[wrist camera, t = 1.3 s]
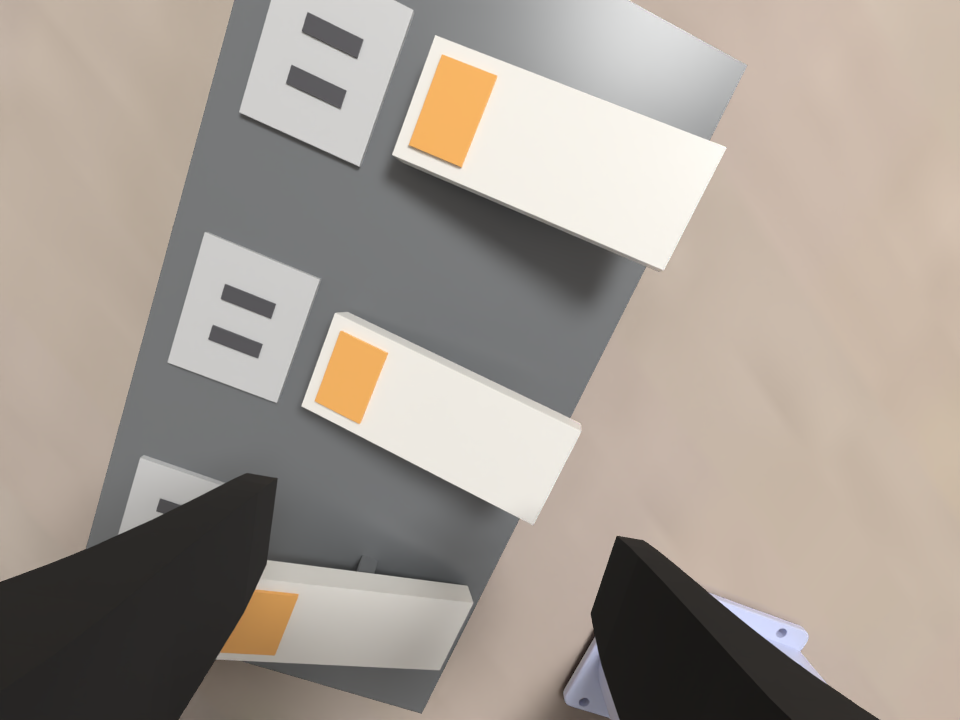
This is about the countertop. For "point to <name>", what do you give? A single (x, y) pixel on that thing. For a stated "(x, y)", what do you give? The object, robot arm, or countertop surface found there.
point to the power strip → (373, 278)
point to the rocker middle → (440, 416)
